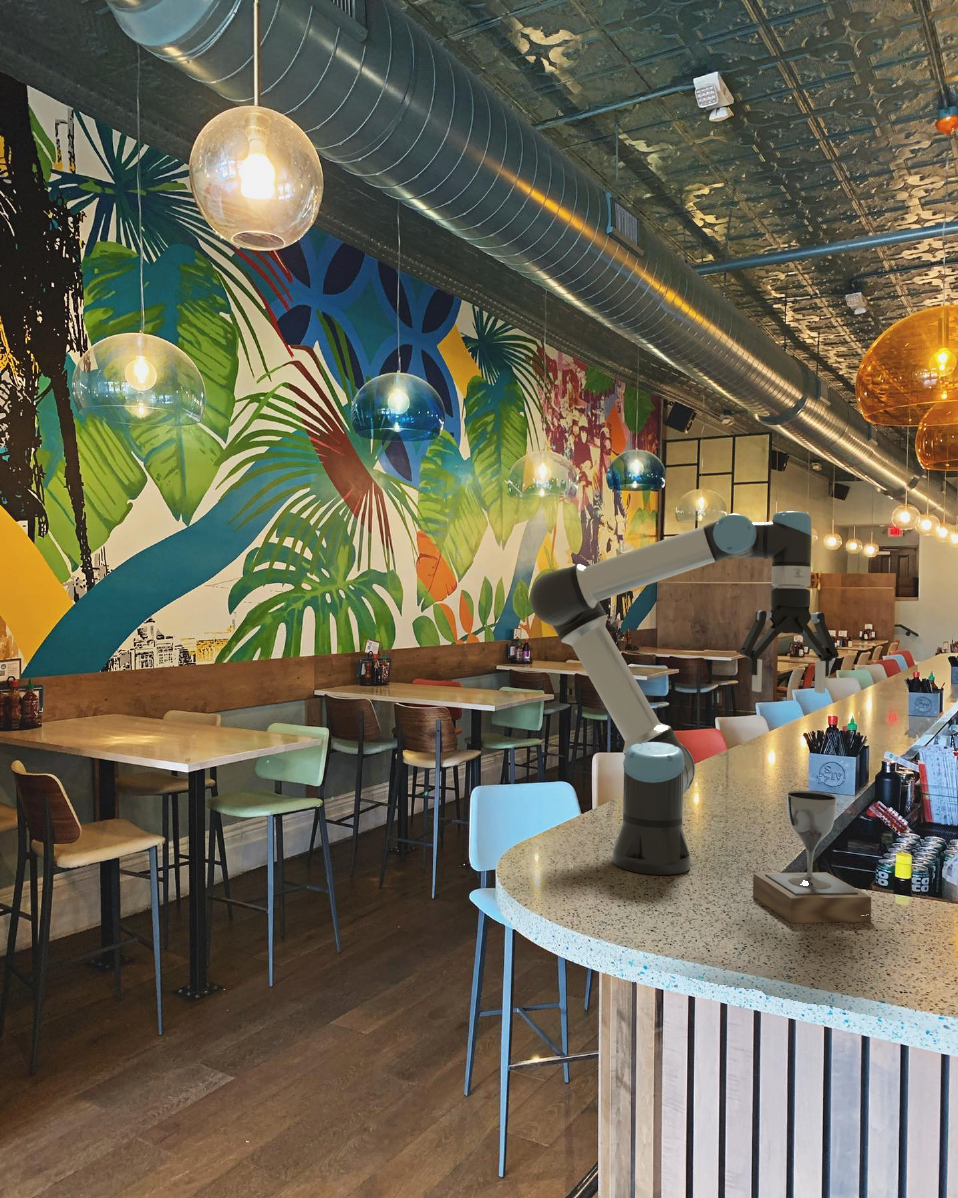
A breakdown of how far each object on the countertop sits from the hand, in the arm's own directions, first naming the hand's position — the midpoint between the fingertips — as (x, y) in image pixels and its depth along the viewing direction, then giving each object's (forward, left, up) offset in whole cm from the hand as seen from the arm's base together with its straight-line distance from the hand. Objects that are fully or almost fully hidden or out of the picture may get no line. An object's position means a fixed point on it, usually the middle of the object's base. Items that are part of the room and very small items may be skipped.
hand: (788, 692), depth 181 cm
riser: (-9, -27, -35) cm, 45 cm away
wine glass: (-9, -27, -31) cm, 42 cm away
